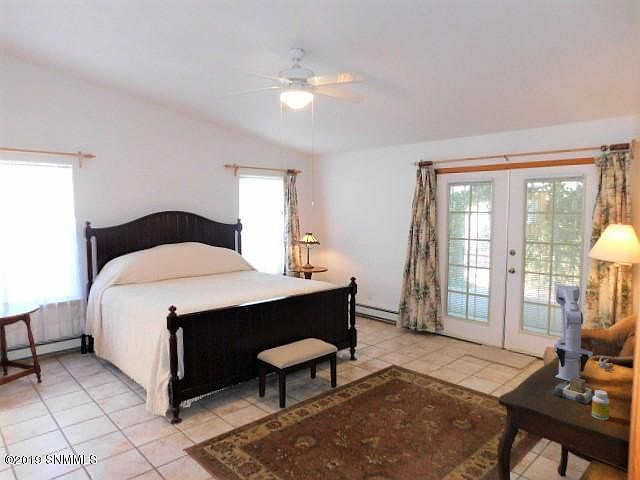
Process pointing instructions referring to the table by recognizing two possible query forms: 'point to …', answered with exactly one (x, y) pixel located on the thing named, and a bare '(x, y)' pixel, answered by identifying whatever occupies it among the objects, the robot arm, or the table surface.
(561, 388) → the toy truck
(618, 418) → the table surface
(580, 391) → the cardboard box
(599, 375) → the table surface
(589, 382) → the table surface
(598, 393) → the supplement bottle
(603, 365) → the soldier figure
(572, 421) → the table surface
